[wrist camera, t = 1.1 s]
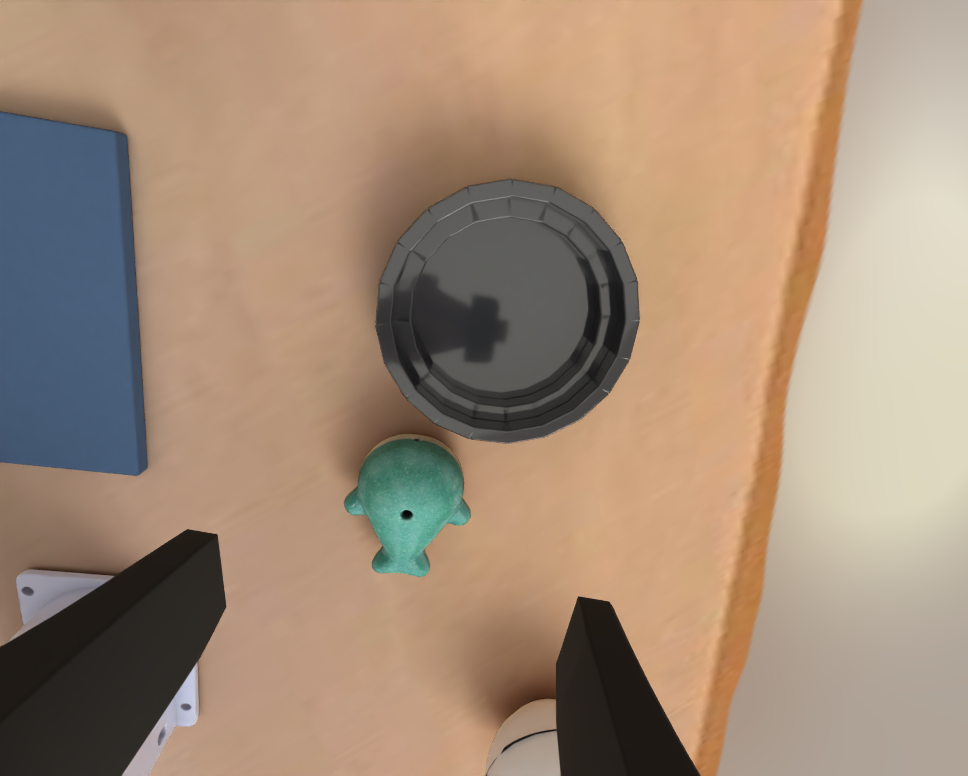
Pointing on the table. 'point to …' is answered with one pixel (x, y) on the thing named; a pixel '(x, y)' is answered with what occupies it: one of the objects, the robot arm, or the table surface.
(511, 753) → the seamed sphere
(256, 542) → the table surface
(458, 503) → the whale figurine
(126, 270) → the blue flat rectangular slab
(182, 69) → the table surface
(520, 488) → the table surface
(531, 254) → the dish
